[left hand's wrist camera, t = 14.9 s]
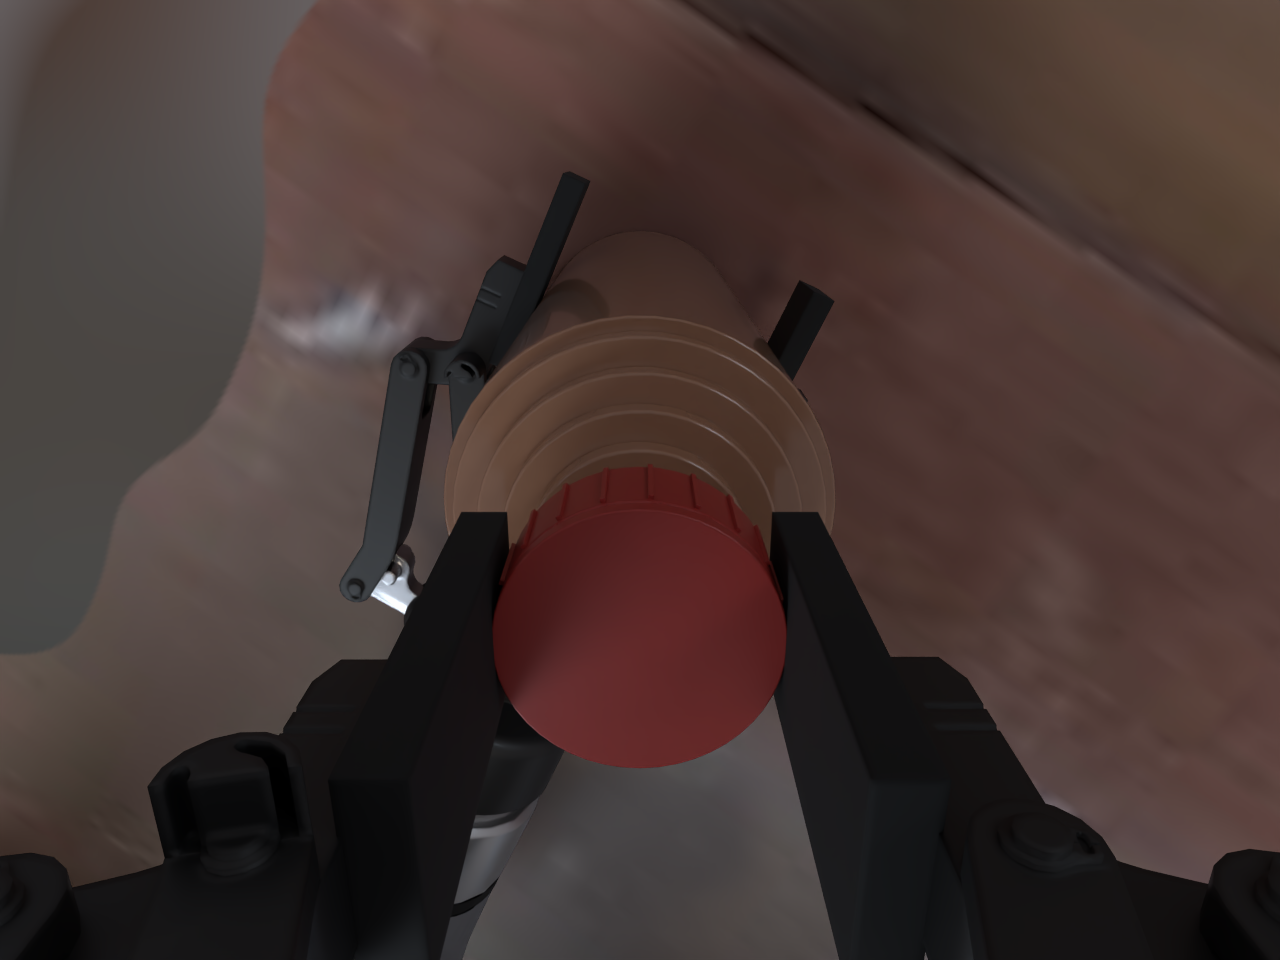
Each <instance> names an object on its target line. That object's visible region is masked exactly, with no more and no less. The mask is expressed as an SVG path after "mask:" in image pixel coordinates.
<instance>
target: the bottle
mask: <svg viewBox="0 0 1280 960" xmlns="http://www.w3.org/2000/svg"><path fill="white" fill-rule="evenodd" d="M648 464H653V467H656V468H662V469H667V470H672V471H677V472H680V473H683V474H686V475H689V476H690V475H691V473H693V474H695V475H696V478H697V479H699V480H701V481H703V482H705V483H707V484H709V485H711V486H712V487H714V488H715V489H717V490H719V491H720V492H722V493H723V494H724V495H726V496H728V494H730V495H731V496H732V497H733V500H734V503H735V504H736V505H737V506H738V507H739V508H740V509H741V510H742V511H743V512H744V514H745V515H746V516H747V517H748V518H749V520H750V521H751V523H752V524H753V526H755V525H758V527H759V528H760V532H761V535H762V538H763V541H764V544H765V547H766V550H767V553H768V557H769V559H770V541H771V524H772V512H818V513H819V515H820V517H821V519H822V521H823V523H824V525H825V527H826V529H827V531H828V533H829V535H830V536H831V532H832V528H833V522H834V512H835V501H836V500H835V479H834V472H833V467H832V462H831V456H830V452H829V449H828V446H827V443H826V440H825V438H824V435H823V432H822V429H821V427H820V425H819V423H818V421H817V419H816V418H815V416H814V414H813V412H812V410H811V408H810V406H809V405H808V403H807V402H806V400H805V399H804V397H803V396H802V394H801V393H800V391H799V390H798V389H797V387H796V386H795V384H794V383H793V381H792V380H791V378H790V377H789V375H788V374H787V372H786V371H785V369H784V368H783V366H782V365H781V363H780V362H779V360H778V359H777V357H776V356H775V354H774V353H773V351H772V350H771V349H770V347H769V346H768V344H767V343H766V341H765V340H764V338H763V337H762V335H761V334H760V332H759V331H758V329H757V328H756V326H755V325H754V323H753V322H752V320H751V319H750V317H749V316H748V314H747V313H746V311H745V310H744V309H743V307H742V306H741V304H740V303H739V301H738V300H737V298H736V297H735V295H734V294H733V292H732V291H731V289H730V288H729V286H728V285H727V283H726V282H725V280H724V279H723V277H722V276H721V275H720V273H719V272H718V270H717V269H716V267H715V266H714V265H713V264H712V263H711V262H710V261H709V260H708V259H707V258H706V257H705V256H704V255H703V254H702V253H700V252H699V251H698V250H697V249H695V248H694V247H692V246H691V245H689V244H687V243H686V242H684V241H682V240H679V239H677V238H675V237H672V236H669V235H665V234H662V233H657V232H650V231H630V232H622V233H618V234H614V235H610V236H607V237H605V238H603V239H600V240H598V241H596V242H594V243H592V244H591V245H589V246H587V247H586V248H584V249H583V250H582V251H580V252H579V253H578V254H577V255H575V256H574V257H573V258H572V259H571V260H570V261H569V263H568V264H567V265H566V266H565V267H564V269H563V270H562V271H561V273H560V274H559V275H558V277H557V278H556V280H555V281H554V283H553V284H552V286H551V287H550V289H549V290H548V291H547V293H546V294H545V296H544V297H543V299H542V300H541V302H540V303H539V305H538V306H537V308H536V309H535V311H534V312H533V314H532V315H531V317H530V318H529V319H528V321H527V322H526V324H525V325H524V327H523V328H522V330H521V331H520V333H519V334H518V336H517V337H516V339H515V340H514V342H513V343H512V344H511V346H510V347H509V349H508V350H507V352H506V353H505V355H504V356H503V358H502V359H501V361H500V362H499V364H498V365H497V367H496V368H495V370H494V371H493V372H492V374H491V375H490V377H489V378H488V380H487V381H486V383H485V384H484V386H483V387H482V389H481V390H480V392H479V393H478V395H477V396H476V397H475V399H474V400H473V402H472V403H471V405H470V407H469V409H468V410H467V412H466V414H465V416H464V418H463V420H462V422H461V423H460V425H459V427H458V430H457V433H456V436H455V438H454V441H453V444H452V446H451V449H450V454H449V458H448V463H447V468H446V472H445V485H444V509H445V521H446V526H447V530H448V535H449V536H450V534H451V532H452V530H453V528H454V526H455V524H456V522H457V520H458V518H459V516H460V514H461V512H507V517H508V534H509V550H510V547H511V544H512V543H515V544H516V542H517V540H518V538H519V536H520V534H521V532H522V530H523V529H524V527H525V526H526V524H527V523H528V520H529V517H530V514H531V512H532V510H533V509H535V510H536V511H537V510H538V509H539V508H540V507H541V506H542V505H543V504H544V503H545V502H546V501H547V500H549V499H550V498H551V497H552V496H553V495H554V494H556V493H557V492H559V491H560V490H562V486H563V485H564V484H565V483H568V485H570V484H572V483H574V482H576V481H578V480H580V479H582V478H585V477H587V476H590V475H593V474H596V473H599V472H602V471H603V468H606V467H608V468H609V470H611V469H617V468H626V467H647V466H648Z"/></svg>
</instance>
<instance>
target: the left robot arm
mask: <svg viewBox="0 0 1280 960" xmlns="http://www.w3.org/2000/svg"><path fill="white" fill-rule="evenodd" d="M508 553H509V534H508V517H507V512H461V514H460V516H459V518H458V520H457V522H456V524H455V526H454V528H453V530H452V532H451V534H450V536H449V538H448V540H447V542H446V544H445V546H444V548H443V550H442V552H441V554H440V556H439V558H438V560H437V562H436V564H435V566H434V568H433V570H432V572H431V574H430V576H429V578H428V580H427V582H426V584H425V586H424V588H423V590H422V592H421V594H420V596H419V598H418V600H417V602H416V604H415V606H414V608H413V610H412V612H411V614H410V616H409V618H408V620H407V622H406V624H405V626H404V628H403V630H402V632H401V634H400V636H399V638H398V640H397V642H396V644H395V646H394V648H393V650H392V652H391V654H390V656H389V658H388V660H340V661H339V662H338V663H336V664H335V665H334V666H332V667H331V668H330V669H328V670H327V671H326V672H324V673H323V674H322V675H320V676H319V677H318V678H316V679H315V680H314V681H312V683H311V685H310V686H309V688H308V689H307V691H306V693H305V694H304V696H303V697H302V699H301V701H300V702H299V704H298V705H297V710H296V712H293V714H292V715H291V717H290V718H289V720H288V722H287V723H286V725H285V726H284V728H283V734H279V736H278V735H275V734H271V733H268V732H241V733H236V734H232V735H227V736H223V737H219V738H214V739H211V740H209V741H206V742H204V743H202V744H200V745H197V746H195V747H193V748H191V749H188V750H186V751H184V752H183V753H181V754H180V755H178V756H177V757H176V758H174V759H173V760H172V761H170V762H169V763H168V764H166V765H165V766H163V767H162V768H161V769H160V771H159V772H158V773H157V775H156V776H155V777H154V779H153V780H152V781H151V783H150V784H149V785H148V791H149V795H150V799H151V803H152V807H153V812H154V816H155V820H156V824H157V828H158V832H159V836H160V840H161V844H162V848H163V852H164V857H165V859H164V862H163V864H162V865H159V866H156V867H153V868H149V869H146V870H143V871H140V872H137V873H132V874H128V875H124V876H120V877H115V878H111V879H107V880H103V881H99V882H94V883H90V884H86V885H82V886H77V887H73V888H72V886H71V883H70V879H69V876H68V873H67V869H66V868H65V867H64V866H63V865H62V864H60V863H59V862H58V861H57V860H56V859H55V858H54V857H51V856H45V855H40V854H35V853H24V854H16V855H8V856H0V960H353V957H354V954H355V960H440V958H441V954H442V950H443V946H444V942H445V938H446V934H447V930H448V926H449V922H450V918H451V914H452V909H453V905H454V901H455V897H456V893H457V889H458V885H459V881H460V877H461V873H462V869H463V865H464V861H465V857H466V853H467V849H468V845H469V841H470V837H471V833H472V829H473V825H474V821H475V817H476V813H477V808H478V804H479V800H480V796H481V792H482V788H483V784H484V780H485V776H486V772H487V768H488V764H489V760H490V756H491V752H492V748H493V744H494V740H495V736H496V732H497V728H498V724H499V720H500V716H501V712H502V707H503V703H504V699H505V695H506V694H505V692H504V690H503V688H502V686H501V683H500V681H499V679H498V676H497V672H496V669H495V660H494V646H493V631H492V621H493V614H494V610H495V607H496V604H497V600H498V597H499V594H500V591H501V588H502V585H499V584H498V583H499V580H500V577H501V574H502V571H503V568H504V565H505V562H506V559H507V556H508ZM769 560H770V561H772V565H773V568H774V571H775V574H776V577H777V580H778V583H779V586H780V589H781V592H782V596H783V599H784V603H783V607H784V610H785V615H786V621H787V637H786V652H785V665H784V669H783V672H782V676H781V679H780V681H779V683H778V685H777V688H776V690H775V692H774V698H775V702H776V706H777V710H778V714H779V718H780V722H781V726H782V730H783V734H784V738H785V742H786V746H787V750H788V754H789V758H790V762H791V766H792V770H793V774H794V778H795V782H796V787H797V791H798V795H799V799H800V803H801V807H802V811H803V815H804V819H805V823H806V827H807V831H808V835H809V839H810V843H811V847H812V851H813V855H814V859H815V863H816V867H817V871H818V875H819V879H820V884H821V888H822V892H823V896H824V900H825V904H826V908H827V912H828V916H829V920H830V924H831V928H832V932H833V936H834V940H835V944H836V948H837V952H838V956H839V960H924V956H925V952H926V955H927V958H928V960H1280V853H1279V852H1271V851H1262V850H1254V849H1247V850H1242V851H1236V852H1231V853H1227V854H1225V855H1224V856H1223V857H1222V858H1221V859H1220V860H1219V861H1218V862H1217V863H1216V864H1215V865H1214V867H1213V870H1212V873H1211V877H1210V880H1209V883H1208V884H1205V883H1201V882H1197V881H1193V880H1188V879H1184V878H1180V877H1175V876H1171V875H1167V874H1163V873H1158V872H1154V871H1150V870H1146V869H1142V868H1139V867H1136V866H1132V865H1129V864H1126V863H1122V862H1120V861H1117V860H1116V858H1115V856H1114V855H1113V853H1112V851H1111V850H1110V848H1109V847H1108V845H1107V844H1106V842H1105V841H1104V839H1103V838H1102V837H1101V836H1100V835H1099V834H1098V833H1097V832H1095V831H1094V830H1093V829H1092V828H1091V827H1089V826H1088V825H1087V824H1086V823H1085V822H1083V821H1082V820H1081V819H1079V818H1077V817H1075V816H1073V815H1071V814H1069V813H1067V812H1065V811H1063V810H1061V809H1059V808H1057V807H1055V806H1052V805H1048V804H1045V802H1044V800H1043V799H1042V797H1041V796H1040V794H1039V792H1038V791H1037V789H1036V788H1035V786H1034V784H1033V783H1032V781H1031V780H1030V778H1029V776H1028V775H1027V773H1026V772H1025V770H1024V768H1023V767H1022V765H1021V764H1020V762H1019V760H1018V759H1017V757H1016V756H1015V754H1014V752H1013V751H1012V749H1011V748H1010V746H1009V744H1008V743H1007V741H1006V740H1005V738H1004V736H1003V735H1002V733H1001V732H1000V731H997V728H996V724H995V722H994V720H993V719H992V717H991V716H990V714H989V712H988V711H987V709H984V708H983V703H982V701H981V700H980V698H979V696H978V695H977V693H976V692H975V690H974V688H973V687H972V685H971V684H970V682H969V680H968V679H967V678H966V677H964V676H963V675H962V674H960V673H959V672H958V671H956V670H955V669H954V668H952V667H951V666H950V665H948V664H947V663H946V662H944V661H943V660H942V659H940V658H939V657H890V655H889V653H888V651H887V649H886V647H885V645H884V643H883V641H882V639H881V637H880V635H879V633H878V631H877V629H876V627H875V625H874V623H873V621H872V619H871V617H870V615H869V613H868V611H867V609H866V607H865V605H864V603H863V601H862V599H861V597H860V595H859V593H858V591H857V589H856V587H855V585H854V583H853V581H852V579H851V577H850V575H849V573H848V571H847V569H846V567H845V565H844V563H843V561H842V559H841V557H840V555H839V553H838V551H837V549H836V547H835V545H834V543H833V541H832V539H831V537H830V535H829V533H828V531H827V529H826V527H825V525H824V523H823V521H822V519H821V517H820V515H819V513H818V512H772V524H771V541H770V559H769Z"/></svg>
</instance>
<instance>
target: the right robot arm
mask: <svg viewBox="0 0 1280 960" xmlns="http://www.w3.org/2000/svg"><path fill="white" fill-rule="evenodd" d="M589 183H590V181H589V180H587V179H585V178H583V177H580V176H578V175H576V174H574V173H572V172H565V173H563V175H562V177H561V180H560V182H559V185H558V187H557V190H556V192H555V195H554V197H553V200H552V203H551V205H550V208H549V210H548V213H547V215H546V218H545V220H544V223H543V225H542V228H541V230H540V233H539V235H538V238H537V240H536V243H535V245H534V248H533V250H532V253H531V255H530V258H529V260H528V263H527V265H525V264H522V263H520V262H518V261H516V260H514V259H511V258H509V257H507V256H505V255H504V256H503V257H501V258H500V259H499V260H497V262H496V263H495V264H494V265H493V266H492V267H491V268H490V269H489V270H488V271H487V272H486V275H485V278H484V280H483V283H482V286H481V289H480V291H479V293H478V296H477V299H476V301H475V304H474V306H473V309H472V312H471V314H470V317H469V320H468V322H467V325H466V327H465V330H464V333H463V335H462V337H461V339H459V340H456V341H437V340H434V339H431V338H429V337H420V338H417V339H415V340H414V341H413V342H411V343H410V344H409V345H408V346H407V347H405V348H404V349H403V350H402V351H400V352H399V353H398V354H397V355H396V356H395V357H394V358H393V361H392V363H391V368H390V375H389V381H388V387H387V394H386V400H385V406H384V413H383V419H382V425H381V432H380V438H379V444H378V451H377V457H376V463H375V470H374V476H373V482H372V489H371V495H370V501H369V508H368V514H367V521H366V527H365V533H364V540H363V545H362V547H361V549H360V550H359V552H358V553H357V555H356V557H355V558H354V560H353V561H352V563H351V565H350V566H349V568H348V569H347V571H346V573H345V574H344V576H343V577H342V579H341V581H340V584H339V586H340V591H341V593H342V595H343V596H344V597H345V598H346V599H348V600H350V601H353V602H362V601H365V600H367V599H368V598H369V597H370V596H372V597H374V598H376V599H378V600H379V601H381V602H383V603H385V604H387V605H388V606H390V607H392V608H394V609H395V610H397V611H399V612H401V613H402V614H404V626H405V624H406V622H407V620H408V618H409V616H410V614H411V612H412V610H413V608H414V606H415V604H416V602H417V600H418V598H419V596H420V594H421V592H422V590H423V588H424V586H425V584H426V583H425V584H423V585H422V584H421V583H419V582H418V581H417V580H416V578H415V576H414V574H413V568H414V565H415V556H414V553H413V552H412V550H411V548H410V547H409V546H408V545H405V544H403V543H404V541H405V539H406V537H407V535H408V533H409V530H410V528H411V525H412V521H413V517H414V512H415V506H416V501H417V495H418V490H419V484H420V478H421V473H422V467H423V462H424V456H425V450H426V445H427V439H428V433H429V428H430V422H431V417H432V411H433V405H434V400H435V394H436V388H437V384H443V385H449V393H450V408H451V422H452V437H453V441H454V438H455V436H456V433H457V430H458V427H459V425H460V423H461V422H462V420H463V418H464V416H465V414H466V412H467V410H468V409H469V407H470V405H471V403H472V402H473V400H474V399H475V397H476V396H477V395H478V393H479V392H480V390H481V389H482V387H483V386H484V384H485V383H486V381H487V380H488V378H489V377H490V375H491V374H492V372H493V371H494V370H495V368H496V366H497V365H498V364H499V362H500V361H501V359H502V358H503V356H504V355H505V353H506V352H507V350H508V349H509V347H510V346H511V344H512V343H513V342H514V340H515V339H516V337H517V336H518V334H519V333H520V331H521V330H522V328H523V327H524V325H525V324H526V322H527V321H528V319H529V318H530V317H531V315H532V314H533V312H534V311H535V309H536V308H537V306H538V305H539V303H540V302H541V300H542V298H543V296H544V293H545V291H546V289H547V286H548V284H549V281H550V279H551V276H552V274H553V271H554V269H555V266H556V264H557V262H558V259H559V257H560V254H561V252H562V249H563V247H564V244H565V242H566V240H567V237H568V235H569V232H570V230H571V227H572V225H573V222H574V220H575V218H576V215H577V213H578V210H579V208H580V205H581V203H582V200H583V198H584V195H585V193H586V191H587V188H588V186H589ZM833 303H834V301H833V300H832V299H831V298H829V297H828V296H827V295H825V294H824V293H823V292H821V291H820V290H819V289H817V288H815V287H813V286H811V285H808V284H806V283H804V282H802V281H800V280H799V282H798V284H797V286H796V288H795V290H794V292H793V294H792V296H791V298H790V300H789V302H788V304H787V306H786V308H785V310H784V312H783V314H782V316H781V318H780V320H779V322H778V324H777V326H776V328H775V330H774V332H773V333H772V335H771V337H770V339H769V341H768V343H767V344H768V346H769V347H770V349H771V350H772V351H773V353H774V354H775V356H776V357H777V359H778V360H779V362H780V363H781V365H782V366H783V368H784V369H785V371H786V372H787V374H788V375H789V377H790V378H791V380H792V381H793V379H794V377H795V375H796V373H797V371H798V370H799V368H800V366H801V364H802V362H803V360H804V358H805V356H806V354H807V352H808V351H809V349H810V347H811V345H812V343H813V341H814V339H815V337H816V335H817V333H818V332H819V330H820V328H821V326H822V324H823V322H824V320H825V318H826V316H827V314H828V313H829V311H830V309H831V307H832V305H833ZM797 389H798V388H797ZM798 390H799V391H800V393H801V394H802V396H803V397H804V399H805V400H806V402H807V401H808V400H807V398H806V397H805V396H804V394H803V393H802V391H801V390H800V389H798ZM564 751H565V750H563V749H562V748H560V747H558V746H556V745H554V744H553V743H551V742H550V741H548V740H547V739H546V738H544V737H543V736H541V735H540V734H539V733H538V732H536V731H535V730H534V729H533V728H532V727H531V726H530V725H529V724H528V723H526V721H525V720H524V719H523V718H522V717H521V716H520V714H519V713H518V712H517V711H516V710H515V708H514V707H513V705H512V704H511V702H510V700H509V699H508V697H507V696H506V695H505V699H504V703H503V707H502V712H501V716H500V720H499V724H498V728H497V732H496V736H495V740H494V744H493V748H492V752H491V756H490V760H489V764H488V768H487V772H486V776H485V780H484V784H483V788H482V792H481V796H480V800H479V804H478V808H477V813H476V817H475V821H474V825H473V829H472V833H471V837H470V841H469V845H468V849H467V853H466V857H465V861H464V865H463V869H462V873H461V877H460V881H459V885H458V889H457V893H456V897H455V901H454V905H453V909H452V914H451V918H450V922H449V926H448V930H447V934H446V938H445V942H444V946H443V950H442V954H441V958H440V960H462V958H463V955H464V952H465V949H466V946H467V943H468V941H469V938H470V936H471V933H472V931H473V929H474V927H475V925H476V923H477V921H478V918H479V916H480V914H481V912H482V910H483V908H484V906H485V904H486V902H487V899H488V897H489V895H490V893H491V891H492V889H493V887H494V886H495V884H496V882H497V880H498V878H499V876H500V874H501V872H502V871H503V869H504V867H505V865H506V863H507V862H508V860H509V858H510V856H511V854H512V852H513V850H514V848H515V846H516V845H517V843H518V841H519V839H520V837H521V835H522V833H523V831H524V829H525V827H526V826H527V824H528V822H529V820H530V818H531V816H532V814H533V812H534V810H535V808H536V805H537V802H538V799H539V796H540V795H541V794H542V792H543V791H544V789H545V788H546V786H547V784H548V782H549V780H550V778H551V776H552V774H553V772H554V770H555V768H556V766H557V764H558V762H559V760H560V758H561V756H562V754H563V752H564ZM353 960H355V954H354V957H353Z"/></svg>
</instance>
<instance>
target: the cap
mask: <svg viewBox="0 0 1280 960" xmlns="http://www.w3.org/2000/svg"><path fill="white" fill-rule="evenodd" d="M498 584H499V585H502V588H501V591H500V594H499V597H498V600H497V604H496V607H495V610H494V614H493V621H492V631H493V646H494V660H495V669H496V672H497V676H498V679H499V681H500V683H501V686H502V688H503V690H504V692H505V694H506V696H507V697H508V699H509V700H510V702H511V704H512V705H513V707H514V708H515V710H516V711H517V712H518V713H519V714H520V716H521V717H522V718H523V719H524V720H525V721H526V723H528V724H529V725H530V726H531V727H532V728H533V729H534V730H535V731H536V732H538V733H539V734H540V735H541V736H543V737H544V738H546V739H547V740H548V741H550V742H551V743H553V744H554V745H556V746H558V747H560V748H562V749H563V750H565V751H567V752H569V753H571V754H574V755H576V756H579V757H581V758H584V759H586V760H590V761H594V762H597V763H601V764H605V765H611V766H618V767H628V768H650V767H662V766H668V765H674V764H678V763H682V762H685V761H689V760H692V759H695V758H698V757H700V756H703V755H705V754H708V753H710V752H712V751H714V750H716V749H717V748H719V747H721V746H723V745H725V744H726V743H728V742H729V741H731V740H732V739H733V738H735V737H736V736H738V735H739V734H740V733H741V732H743V731H744V730H745V729H746V728H747V727H748V726H749V725H750V724H751V723H752V722H753V721H754V720H755V719H756V718H757V717H758V715H759V714H760V713H761V712H762V711H763V710H764V708H765V707H766V705H767V704H768V702H769V700H770V699H771V697H772V696H773V694H774V692H775V690H776V688H777V685H778V683H779V681H780V679H781V676H782V672H783V669H784V665H785V652H786V637H787V621H786V615H785V610H784V607H783V603H784V599H783V596H782V592H781V589H780V586H779V583H778V580H777V577H776V574H775V571H774V568H773V565H772V561H770V560H769V557H768V553H767V550H766V547H765V544H764V541H763V538H762V535H761V532H760V528H759V527H758V525H755V526H753V524H752V523H751V521H750V520H749V518H748V517H747V516H746V515H745V514H744V512H743V511H742V510H741V509H740V508H739V507H738V506H737V505H736V504H735V503H734V500H733V497H732V496H731V495H730V494H728V496H726V495H724V494H723V493H722V492H720V491H719V490H717V489H715V488H714V487H712V486H711V485H709V484H707V483H705V482H703V481H701V480H699V479H697V478H696V475H695V474H693V473H691V475H690V476H689V475H686V474H683V473H680V472H677V471H672V470H667V469H662V468H656V467H653V464H648V466H647V467H626V468H617V469H611V470H609V468H608V467H606V468H603V471H602V472H599V473H596V474H593V475H590V476H587V477H585V478H582V479H580V480H578V481H576V482H574V483H572V484H570V485H568V483H565V484H564V485H563V486H562V490H560V491H559V492H557V493H556V494H554V495H553V496H552V497H551V498H550V499H549V500H547V501H546V502H545V503H544V504H543V505H542V506H541V507H540V508H539V509H538V510H537V511H536V510H535V509H533V510H532V512H531V514H530V517H529V520H528V523H527V524H526V526H525V527H524V529H523V530H522V532H521V534H520V536H519V538H518V540H517V542H516V544H515V543H512V544H511V547H510V550H509V553H508V556H507V559H506V562H505V565H504V568H503V571H502V574H501V577H500V580H499V583H498Z"/></svg>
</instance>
